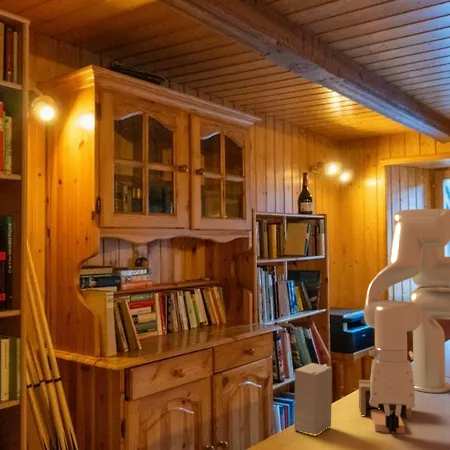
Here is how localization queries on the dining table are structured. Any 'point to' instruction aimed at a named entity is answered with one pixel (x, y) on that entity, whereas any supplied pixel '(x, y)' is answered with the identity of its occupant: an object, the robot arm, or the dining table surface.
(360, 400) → the tan open box
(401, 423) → the terracotta tile
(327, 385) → the skincare box
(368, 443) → the dining table surface
